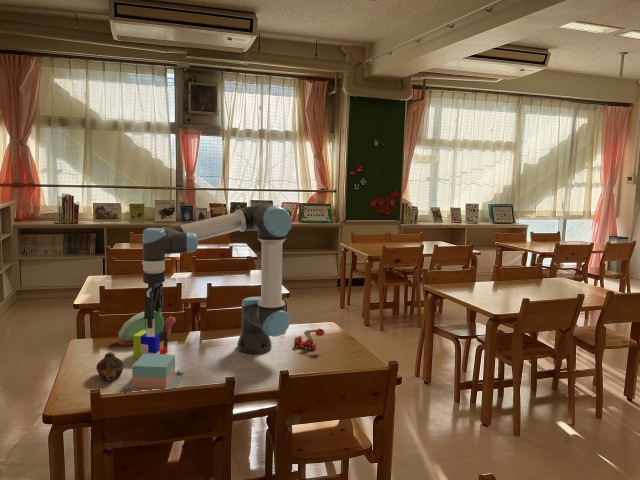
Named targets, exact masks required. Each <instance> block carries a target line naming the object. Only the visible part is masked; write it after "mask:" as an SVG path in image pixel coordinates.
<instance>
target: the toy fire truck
mask: <svg viewBox="0 0 640 480" xmlns="http://www.w3.org/2000/svg"><path fill="white" fill-rule="evenodd" d="M311 333H315V336H319V337H323V336H324V335H325V330H324V329H323V328H317V329H309V330H308V329H307V330H305V331H304V332H303V334H304V336H305V337H306V338H307V340H305V341H302V340H303V337H302V336H296V337H294V343H293V347H295V348H296V347H298V348H301V349H305V350H309V349H310V350H309V351H314V350H315V349H316V348H317V343H315V342H314V339H313V337H312V336H311Z"/></svg>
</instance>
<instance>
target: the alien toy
mask: <svg viewBox="0 0 640 480" xmlns="http://www.w3.org/2000/svg"><path fill="white" fill-rule="evenodd" d="M162 309H163V308H162ZM162 309H161V308H158V312H154V319H155V335H157V334H159V333H160V332H161V331H162V330H163V327H164V325H165V319H164V316H163V313H162V314H160V313H159V312H160V311H161V312H163V311H162ZM148 316H149V315H148ZM144 327H145V330H146V331H147V323H146V319H145V320H144Z"/></svg>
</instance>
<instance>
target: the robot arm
mask: <svg viewBox="0 0 640 480" xmlns="http://www.w3.org/2000/svg"><path fill="white" fill-rule="evenodd" d="M291 229H292V217H291V215H290V213H289V212H288V211H287V209H285V208H283V207H281V206H278V205H271V204H270V205H269V204H266V203H260V204H259V203H258V204H253V205H249V206H246V207H242V208H239V209H236V210H235V211H234V212H232V213H227V214H223V215H219V216H215V217H210V218H207V219H201V220H198V221H193V222H190V223H185V224H182V225H181V224H180V225H177V226H172V227H167V226H165V227H148V228H145V229H144V230H143V231H142V242H141V243H142V262H141V265H142V270H143V273H142V282H143V283H144V284H147V288H146V290H145V291H144V311H143V312H144V319H146V323H147V337H154V336H155V319H154V311H156V312H158V308H161V309H162V311H160V312H159V313H160V314H162V315H163V312H164V311H165V306H164V304H165V303H164V292H163V291H164V290H163V289H164V284H163V283H164V282H165V281H166V272H165V271H166V255H175V254H189V253H195V252H196V251H197V249H198V246H199V241H203V240H206V239H210V238H213V237H217V236H222V235H225V234H229V233H233V232H234V233H235V232H238V231H240V232H241V233H242V232H243V233H244V232H247V231H256V232H257V240H258V241H259V242H260V243H261V255H260V256H261V258H260V259H261V262H260V263H261V266H260V267H261V270H260V272H261V274H260V275H261V278H260V280H261V281H260V282H261V285H260V287H261V289H260V295H261V296H250V297H245V298H244V299H242V301H241V332H240V335H239V338H238V341H237V343H236V344H237V345H236V346H237V350H238V351H239V352H241V353H244V354H249V355H250V354H251V355H252V354H253V355H257V354H258V355H259V354H265V353H268V352H269V351H271V350H272V348H273V347H272V343H273V342H272V339H271V337H272V338H274V337H276V338H278V337H280V336H282V335H284V334H285V333H286V331H288V329H289V327H290V324H291V318H290V315H289V313H288V312H287V311H286V302H285V300H283V299H282V298H283V296H282V295H283V243H284V242H285V241H286V240H287V235H288V234H289V231H291ZM148 315H149V316H148Z"/></svg>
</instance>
